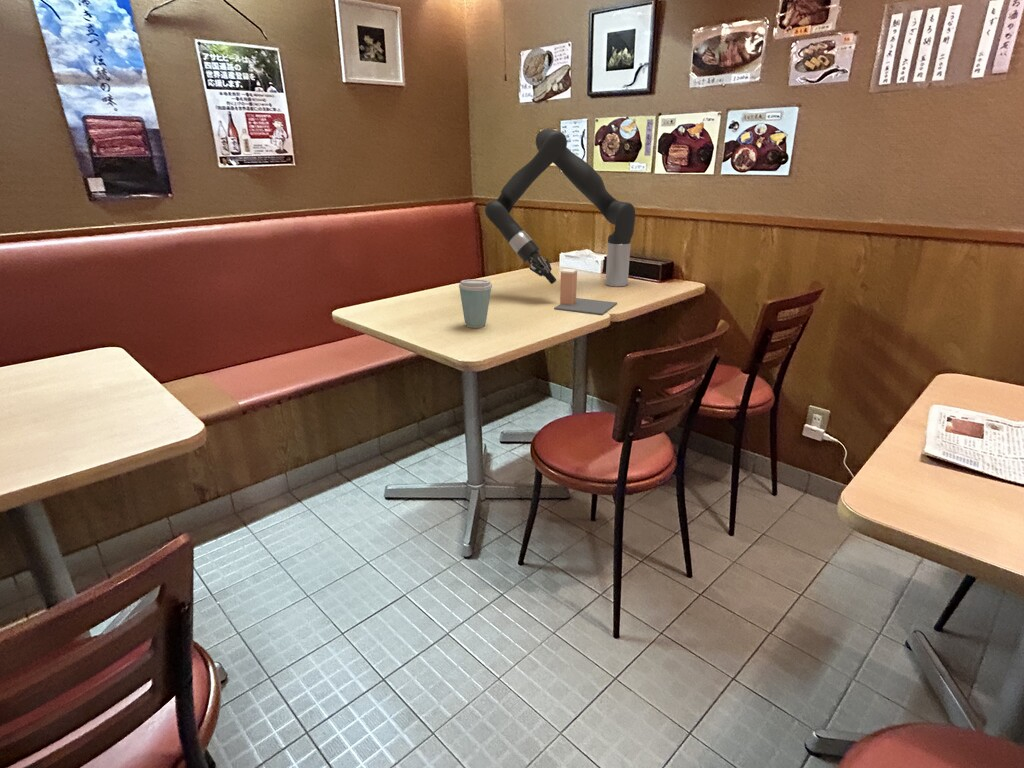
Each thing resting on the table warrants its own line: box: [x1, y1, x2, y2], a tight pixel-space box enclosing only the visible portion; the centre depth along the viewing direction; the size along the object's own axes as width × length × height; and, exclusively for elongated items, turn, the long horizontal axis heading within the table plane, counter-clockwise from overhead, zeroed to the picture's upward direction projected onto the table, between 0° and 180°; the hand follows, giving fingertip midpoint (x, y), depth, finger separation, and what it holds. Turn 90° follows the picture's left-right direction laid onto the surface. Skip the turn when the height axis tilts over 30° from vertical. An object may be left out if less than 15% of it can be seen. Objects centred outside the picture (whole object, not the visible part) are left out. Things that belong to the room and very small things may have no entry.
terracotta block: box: [559, 268, 578, 305], centre depth 214 cm, size 4×4×12 cm
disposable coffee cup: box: [458, 278, 493, 329], centre depth 189 cm, size 11×11×15 cm
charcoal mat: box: [553, 297, 618, 316], centre depth 213 cm, size 17×18×1 cm
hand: (554, 282), depth 216 cm, fingers closed
